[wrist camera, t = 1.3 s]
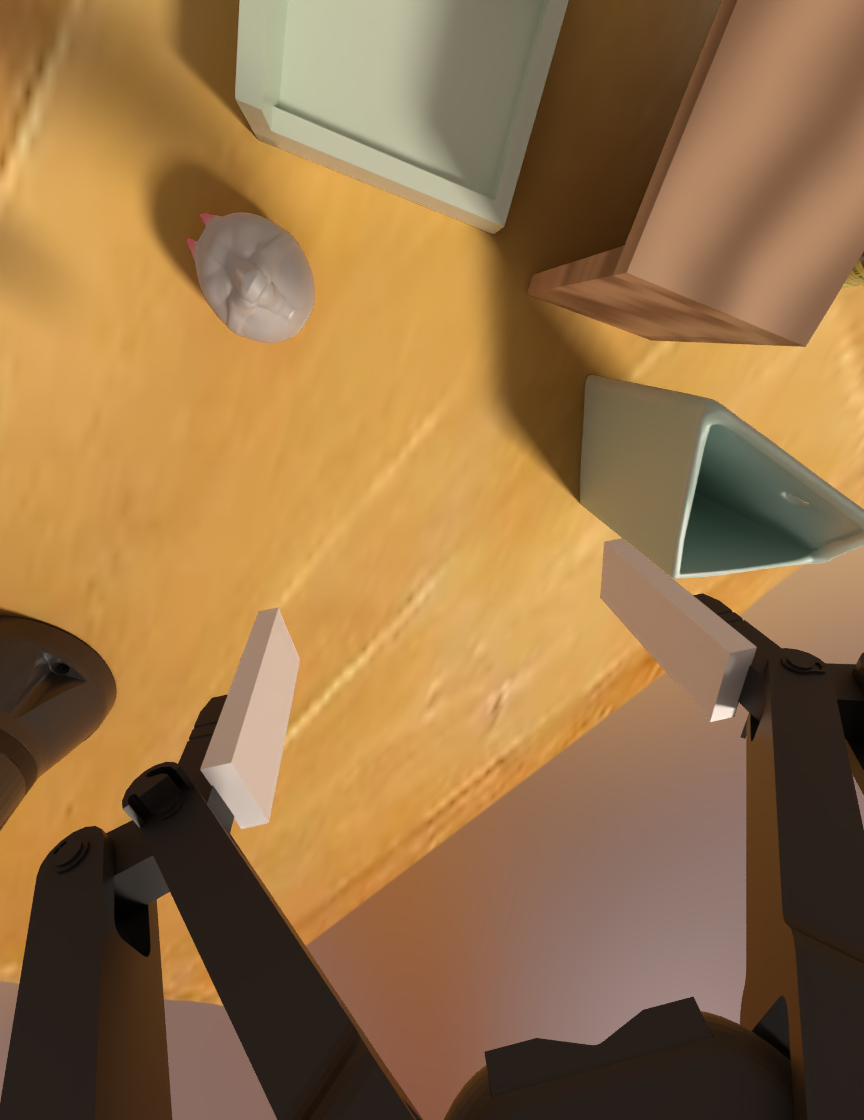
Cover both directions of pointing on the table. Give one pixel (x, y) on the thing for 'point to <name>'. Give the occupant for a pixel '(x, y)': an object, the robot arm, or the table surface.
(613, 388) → the grey piece
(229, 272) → the figurine
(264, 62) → the tray
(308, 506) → the table surface
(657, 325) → the wooden open box
